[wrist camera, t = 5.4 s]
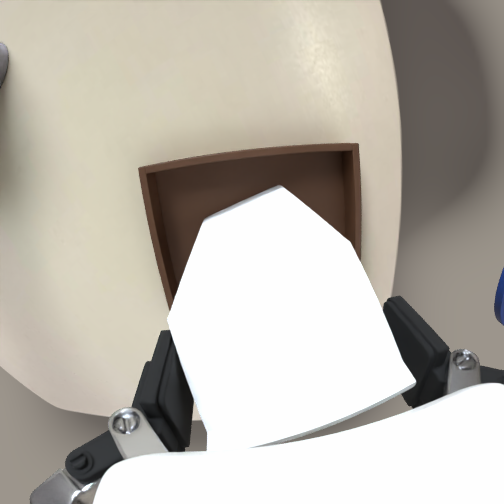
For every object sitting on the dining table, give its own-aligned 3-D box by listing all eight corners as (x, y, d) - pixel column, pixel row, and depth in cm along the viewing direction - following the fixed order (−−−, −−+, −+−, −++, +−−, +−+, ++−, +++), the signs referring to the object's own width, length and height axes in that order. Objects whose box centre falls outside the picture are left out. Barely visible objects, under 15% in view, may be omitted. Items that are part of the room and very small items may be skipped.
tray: (344, 143, 23) (358, 143, 20) (346, 295, 28) (357, 310, 25) (148, 165, 22) (137, 167, 20) (181, 317, 28) (176, 335, 25)
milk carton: (203, 218, 24) (140, 398, 6) (280, 183, 23) (411, 295, 6) (238, 285, 26) (251, 487, 9) (309, 255, 26) (415, 428, 8)
